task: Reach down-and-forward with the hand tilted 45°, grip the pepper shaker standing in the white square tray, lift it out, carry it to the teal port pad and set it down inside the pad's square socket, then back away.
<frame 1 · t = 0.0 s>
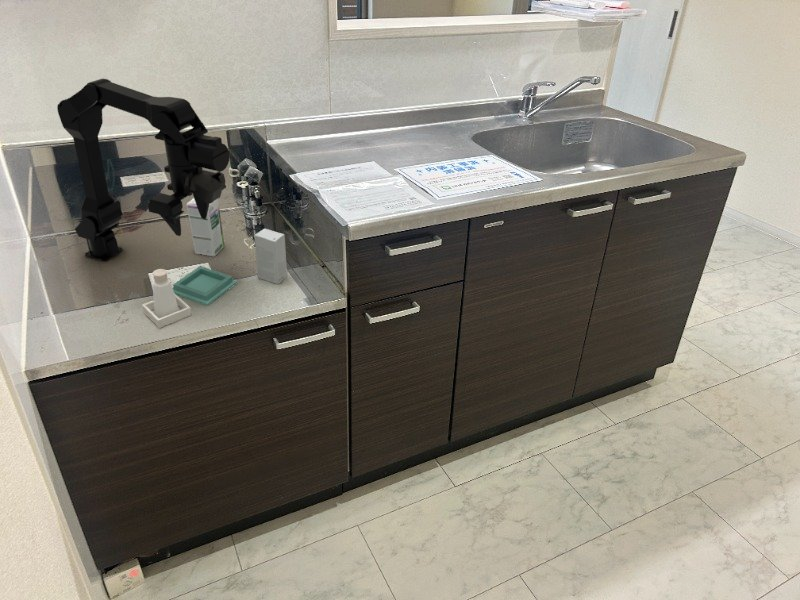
hand: (191, 226, 137), 15 cm above the counter, tool pointing down, fingers open, 9 cm apart
skincare box: (272, 277, 148), on the counter
pepper shaker: (167, 314, 134), resting in white square tray
white square tray: (167, 313, 134), on the counter
syrup box: (209, 250, 157), on the counter
port: (204, 287, 143), on the counter
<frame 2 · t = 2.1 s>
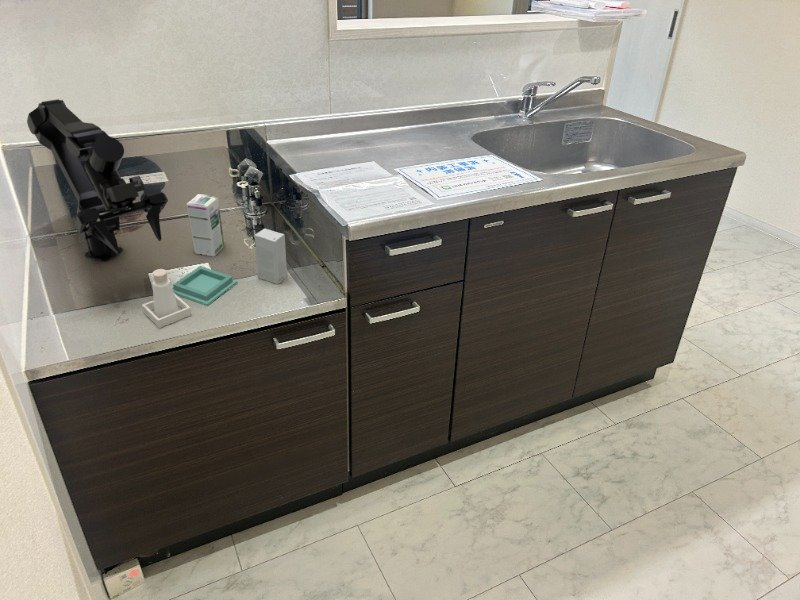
hand: (140, 246, 130), 13 cm above the counter, tool tilted 45°, fingers open, 9 cm apart
nothing on the counter moved.
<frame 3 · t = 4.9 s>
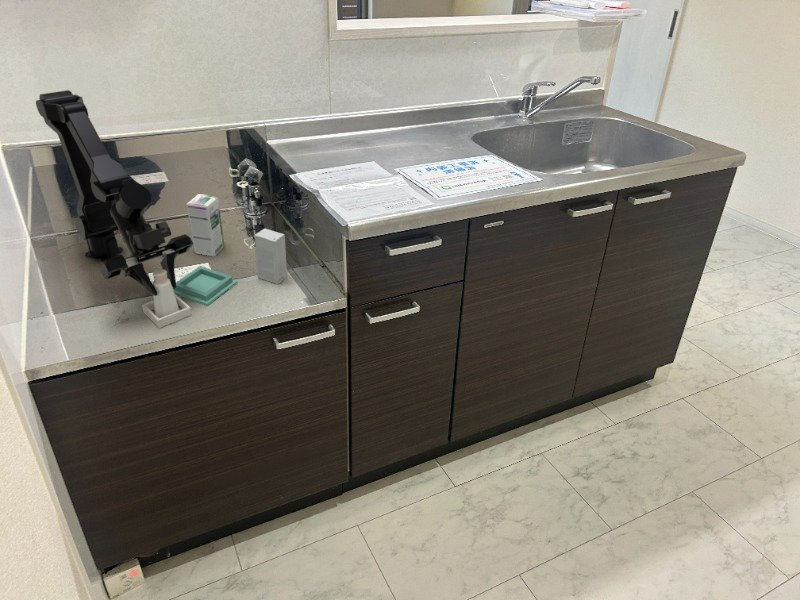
hand: (165, 291, 129), 7 cm above the counter, tool tilted 45°, fingers closed on pepper shaker, 4 cm apart
pepper shaker: (167, 314, 134), resting in white square tray, touching gripper
everything else where it was.
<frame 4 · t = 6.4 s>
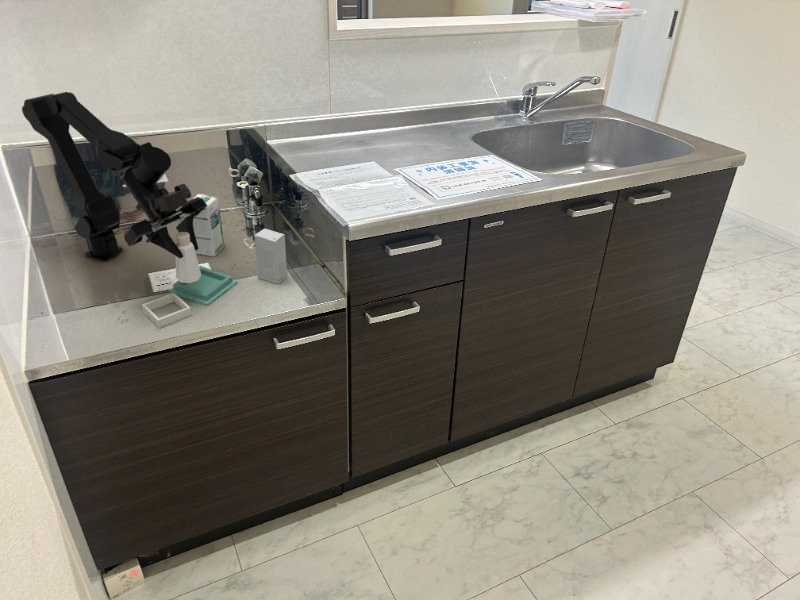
hand: (189, 253, 132), 12 cm above the counter, tool tilted 45°, fingers closed on pepper shaker, 4 cm apart
pepper shaker: (189, 277, 136), point 5 cm above the counter, touching gripper
everything else where it was.
when the fingers open (8 cm above the counter, at t = 7.7 s): pepper shaker drops 1 cm, resting on port.
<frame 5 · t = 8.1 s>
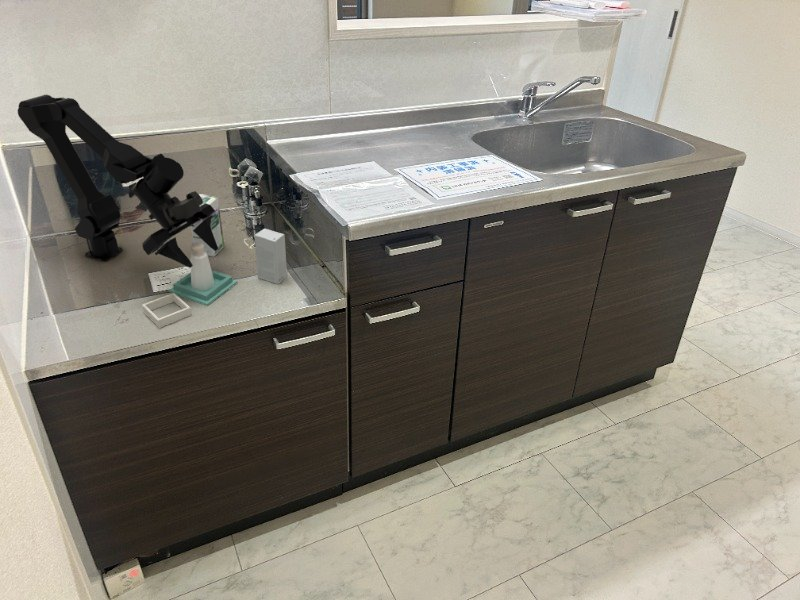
hand: (204, 258, 137), 9 cm above the counter, tool tilted 45°, fingers open, 8 cm apart
pepper shaker: (203, 285, 143), resting on port
everything else where it was.
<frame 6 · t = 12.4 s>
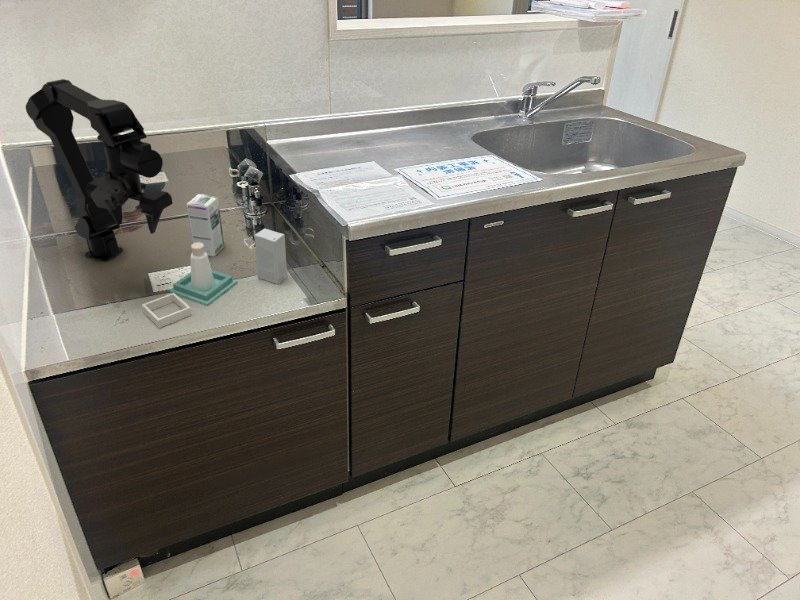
hand: (136, 228, 138), 13 cm above the counter, tool pointing down, fingers open, 9 cm apart
nothing on the counter moved.
at the end: pepper shaker 0.1 cm off-centre on the port, point 0.4 cm above the port's base; pepper shaker tilted 0°; the gripper is holding nothing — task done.
